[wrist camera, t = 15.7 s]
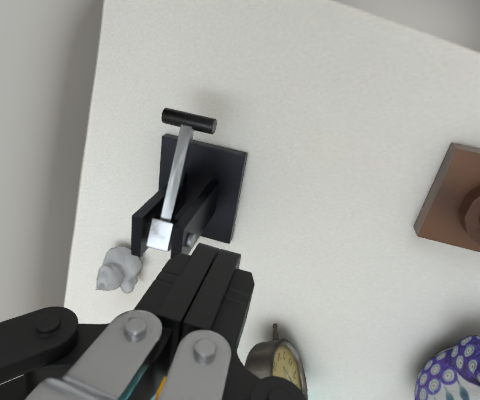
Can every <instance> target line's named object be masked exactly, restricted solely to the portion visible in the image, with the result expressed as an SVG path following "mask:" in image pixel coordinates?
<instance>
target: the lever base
mask: <svg viewBox="0 0 480 400" xmlns="http://www.w3.org/2000/svg"><path fill="white" fill-rule="evenodd" d="M177 141H178V136H174V135H170V134H165V135H163V136H162V146H161V161H160V176H159V191H158V192H157V193H156V194H155V195H154V196H153V197H152V198H151V199H149V200H148V201H147V202H146V203H145V204H144V205H143V206H142V207H141V208H140V209H139V210H138V211H137V212H136V213H134V214H133V215H132V235H131V255H134V256H138V257H141V256H142V254H143V253H144V252H145V251H146V250H147V249H148V246H146V243H147V239H148V234H149V230H150V225H151V221H152V218H154V217H157V216H161V212H162V208H163V203H164V199H165V194H166V190H167V186H168V181H169V177H170V172H171V168H172V163H173V159H174V154H175V150H176V145H177ZM246 159H247V153H246V152H241V151H237V150H233V149H229V148H224V147H220V146H216V145H212V144H208V143H203V142H199V141H195V140H192V143H191V148H190V152H189V156H188V161H187V165H186V170H185V174H184V178H183V183H182V187H181V192H180V196H179V201H178V205H177V209H176V214H175V218H174V219H177V220H179V221H178V222H177V223H176V225H175V226H174V227H173V237H172V248H171V258H173V257H175V256H176V255H178V254H180V253H183V254H186V255H188V254H189V252H190V251H191V249H192V248H193V246H194V245H195V243H196V241H197V240H198V238H199V237H200V236H202V237H206V238H210V239H213V240H217V241H221V242H224V243H228V244H230V242H231V240H232V235H233V230H234V224H235V219H236V213H237V208H238V202H239V197H240V192H241V186H242V181H243V175H244V170H245V164H246Z"/></svg>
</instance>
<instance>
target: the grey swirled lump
mask: <svg viewBox="0 0 480 400" xmlns="http://www.w3.org/2000/svg"><path fill="white" fill-rule="evenodd" d="M141 268H142V263H141V261H140V259H139V258H138V256H134V255H131V249H129V248H125V247H115V248H111V249H110V250H109V251H108V252H107V254H106V256H105V258H104V261H103V266H101V267H100V269H99V272H98V276H97V289H96V290H105V291H110V290H115V289H117V288H118V287H119V286H120V287H121V289H122V291H123V292H124V293H131V292H132V291H133V289H134V286H135V284H136V283H137V281H138V278H137V276H136V275H137V274H138V273H139V271H140V270H141Z"/></svg>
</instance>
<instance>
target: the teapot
mask: <svg viewBox="0 0 480 400" xmlns="http://www.w3.org/2000/svg"><path fill="white" fill-rule="evenodd" d="M415 400H480V336H467V337H466V338H464V339H462V340H460V341H459V342H458V343H457V345H456V346H453V347H450V348H447V349H445V350H443V351H441V352H439V353H438V354H436V355H435V356H434V357H433V358H432V359H430V360H429V361H428V363H427V364H426V365H425V366H424V367H423V368H422V370H421V371H420V373H419V375H418V379H417V382H416V386H415Z"/></svg>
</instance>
